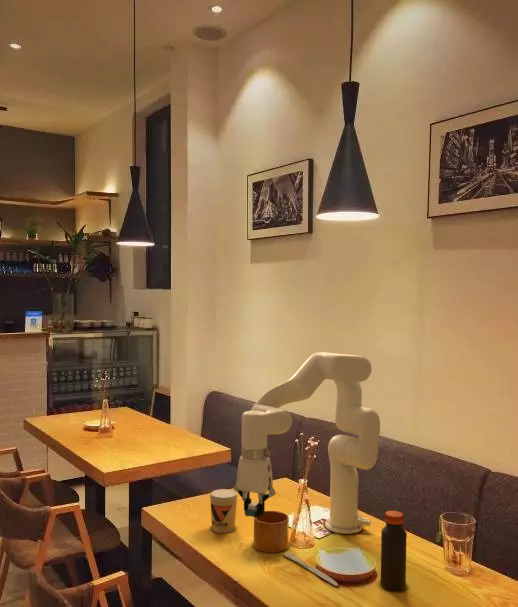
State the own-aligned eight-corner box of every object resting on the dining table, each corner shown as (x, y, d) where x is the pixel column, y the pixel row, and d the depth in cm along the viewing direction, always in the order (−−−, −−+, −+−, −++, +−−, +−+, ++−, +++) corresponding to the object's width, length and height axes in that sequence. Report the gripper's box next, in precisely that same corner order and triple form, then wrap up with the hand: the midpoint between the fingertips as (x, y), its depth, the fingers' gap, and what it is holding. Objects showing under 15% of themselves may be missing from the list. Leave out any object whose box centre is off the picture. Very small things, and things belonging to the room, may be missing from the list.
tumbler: (291, 540, 194) (292, 513, 194) (283, 554, 183) (284, 525, 183) (259, 536, 197) (259, 509, 197) (249, 549, 187) (249, 521, 186)
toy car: (255, 518, 174) (255, 507, 174) (245, 517, 176) (245, 505, 176) (262, 512, 179) (263, 501, 179) (253, 510, 181) (253, 499, 181)
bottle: (376, 587, 164) (378, 514, 164) (385, 577, 170) (386, 507, 169) (400, 594, 160) (402, 520, 160) (408, 583, 166) (410, 512, 166)
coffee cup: (204, 531, 200) (205, 495, 200) (216, 521, 209) (216, 487, 209) (230, 535, 197) (231, 499, 197) (241, 525, 206) (241, 490, 206)
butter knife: (290, 551, 184) (282, 553, 183) (341, 583, 164) (333, 586, 163) (290, 552, 184) (282, 554, 183) (341, 585, 164) (333, 587, 163)
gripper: (284, 453, 177) (284, 514, 178) (235, 446, 184) (234, 505, 184) (275, 459, 170) (274, 523, 171) (223, 453, 177) (223, 514, 177)
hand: (254, 513), depth 178 cm, fingers closed on toy car, 3 cm apart
